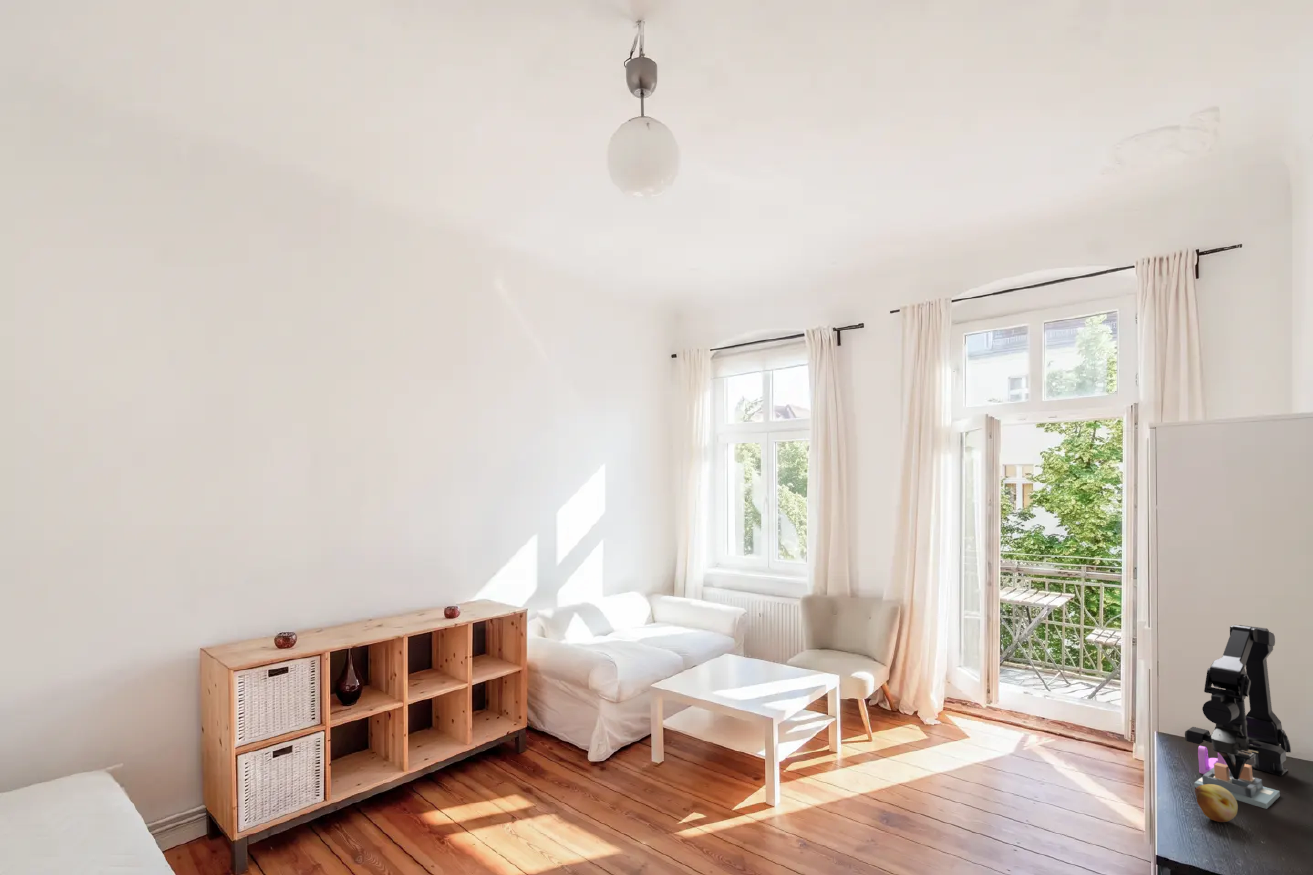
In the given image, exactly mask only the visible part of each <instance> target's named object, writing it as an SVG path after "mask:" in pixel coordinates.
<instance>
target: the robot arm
mask: <svg viewBox="0 0 1313 875" xmlns="http://www.w3.org/2000/svg"><path fill="white" fill-rule="evenodd" d="M1275 644H1276V637H1275V634H1274V632H1272V631H1270V630H1269V629H1268V628H1266V627H1259V626H1249V625H1242V624H1234V625H1233V624H1232V625H1230V626H1229V638H1228V640H1227V643H1226V646H1225V648H1224V651H1223V654H1222V656H1221V657H1220V658H1218V659H1215V660H1213V661H1212V664H1211V665H1210V668H1207V671H1206V676H1205V683H1204V689H1203V692H1204V693H1206V694H1211V696H1210V699H1209V700H1207V701H1206V702H1204V703H1203V705H1202V709H1201V710H1202V712H1203V715H1204V717H1205V718H1207V720H1208V721H1209V722H1211V723H1213V724H1215V726H1214V730H1213V732H1212V734H1211V731H1210V730H1208V729H1205V728H1204V729H1203V728H1200V727H1196V726H1192V727H1190V728H1189V729H1186V730H1185V731H1184V739H1185V741H1186V742H1188V743H1193V744H1195V745H1201V744H1203V743H1204V742H1207V743H1211V744H1212V750H1213V752H1216V753H1217V754H1218V753H1219V754H1220V755H1221V756H1222V757H1223V759H1224V760H1225V762H1226V764H1227V766H1228V768H1229V770H1230V772H1231V774H1232V776H1233V778H1234V779H1236V780H1238V779H1239V777H1240V775H1241V772H1242V770H1243V767H1244V765H1245V764H1246V763H1247V761H1250V760H1252V759H1253V760H1254V762H1253V763H1252V764H1250V765H1251V766H1252V769H1254V770H1258V771H1263V772H1267V773H1270V774H1273V775H1277V776H1284V774H1286V773H1287V772H1288V768H1287V767H1284V766H1283V764H1284V762H1285V761H1287V753H1292V749H1291V748H1292V747H1291V743H1290V739H1289V737H1288V736H1287V733H1286V731H1285V730H1284V729H1283V725H1282V721H1281V720H1280V718H1279V717H1277V715H1276V714H1275V713H1274V711H1273V708H1272V697H1271V688H1270V680H1269V670H1268V663H1267V658H1269V656H1270V655H1271V654H1272V652H1273V650H1274V646H1275ZM1246 697H1247V698H1248V702H1249V711H1248V712H1247V713H1246V706H1245V703H1246V702H1245V700H1246Z"/></svg>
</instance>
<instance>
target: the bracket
mask: <svg viewBox="0 0 1313 875" xmlns="http://www.w3.org/2000/svg"><path fill="white" fill-rule="evenodd" d="M1197 757H1198V758H1197V759H1198V770H1199V771H1198V772H1199V774H1202V775H1204V774H1205V773H1207V772H1208V771H1209V770H1211V769H1212V768H1214V764H1216V763H1221V764H1225V765H1227V764H1226V762H1225V760H1224V759H1223V757H1222V756H1221V755H1220V754H1219V753H1218V752H1217V757H1209V751H1208V748H1207V746H1203V745H1199V746H1198V748H1197ZM1229 771H1230V770H1229Z"/></svg>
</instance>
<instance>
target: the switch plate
mask: <svg viewBox="0 0 1313 875" xmlns="http://www.w3.org/2000/svg"><path fill="white" fill-rule="evenodd" d="M1229 774H1230V778H1232V783H1229V782H1225V781H1222V780H1218V779H1215V778H1213V777H1214V776H1215V771H1214V768H1212V769H1211V770H1209V771H1208V772H1207V773H1205V774H1202V777H1201V776H1200V778H1198V779H1197V780H1196V781H1194V788H1195V789H1196V788H1197V787H1198V786H1201V785H1205V784H1215V785H1219V786H1221V787H1223V788H1225V789H1227V790H1228V791H1229V792H1230V793H1231V794H1232V795H1233V796H1234V798H1235V799H1236V801H1238V802H1242V803H1246V804H1249V805H1252V806H1256V807H1258V808H1263V809H1265V810H1267V809H1268V808H1270V806H1272V805H1273V803H1274V802H1276V800H1278V799H1279V797H1280V796H1281V794H1280V793H1281V792H1280V790H1278V789H1277V790H1276V789H1274V788H1271V787H1266V786H1263V779H1261V778H1258V777H1254V776H1253V778H1255V780H1254V781H1253V782H1249V781H1245V780H1242V779H1238V780H1236V779H1234V778H1233V776H1232V774H1231V772H1230V771H1229Z"/></svg>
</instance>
